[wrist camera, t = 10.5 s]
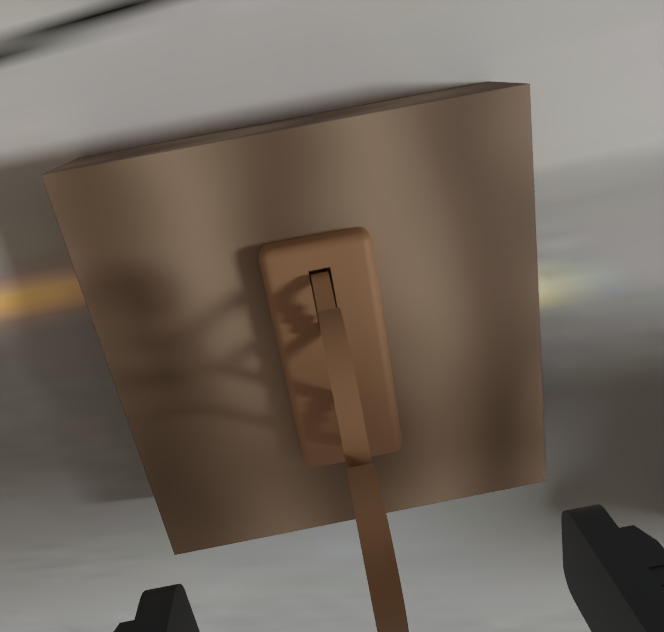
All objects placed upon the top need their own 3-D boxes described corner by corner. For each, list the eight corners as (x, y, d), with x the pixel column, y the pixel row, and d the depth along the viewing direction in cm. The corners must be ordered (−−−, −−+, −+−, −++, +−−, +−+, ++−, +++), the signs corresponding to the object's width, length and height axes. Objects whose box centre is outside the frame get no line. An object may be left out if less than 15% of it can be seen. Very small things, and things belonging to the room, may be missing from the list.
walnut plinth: (489, 81, 23) (529, 83, 20) (512, 429, 30) (546, 480, 26) (78, 158, 23) (41, 174, 20) (187, 493, 29) (174, 554, 26)
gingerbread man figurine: (257, 245, 21) (239, 442, 10) (367, 224, 21) (473, 397, 10) (304, 457, 24) (331, 780, 13) (400, 438, 24) (504, 744, 13)
